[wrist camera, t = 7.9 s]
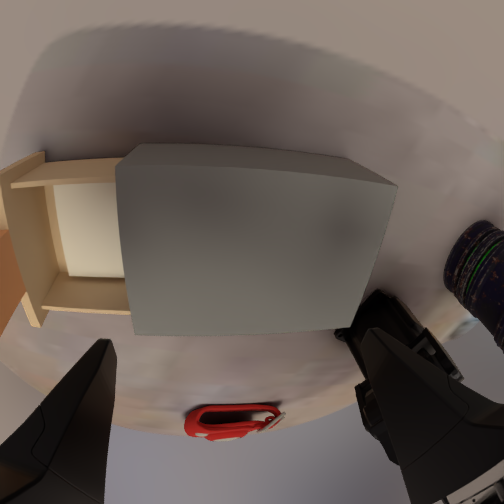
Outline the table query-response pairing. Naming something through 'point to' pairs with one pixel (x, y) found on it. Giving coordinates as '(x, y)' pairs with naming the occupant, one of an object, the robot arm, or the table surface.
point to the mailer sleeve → (246, 238)
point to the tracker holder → (230, 429)
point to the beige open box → (60, 239)
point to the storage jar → (479, 275)
